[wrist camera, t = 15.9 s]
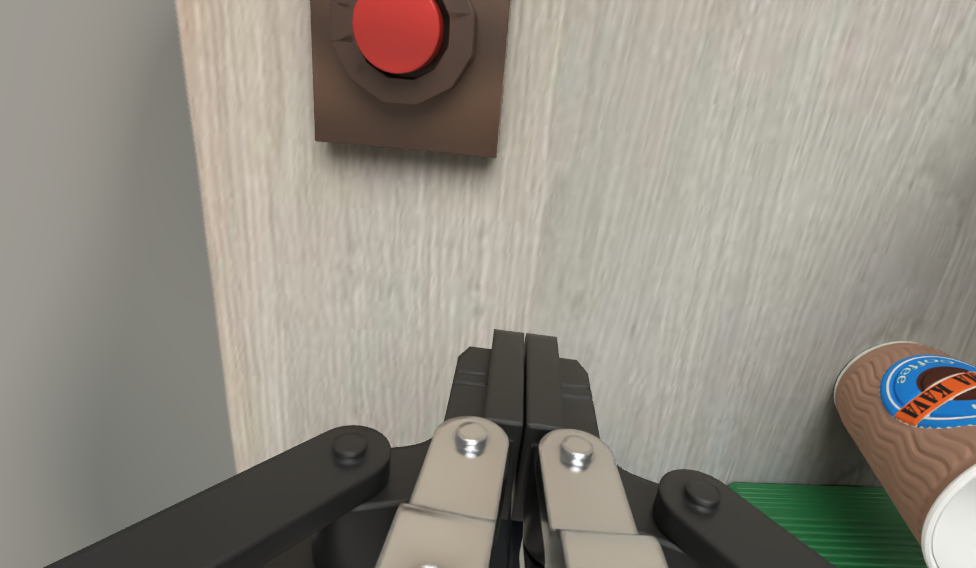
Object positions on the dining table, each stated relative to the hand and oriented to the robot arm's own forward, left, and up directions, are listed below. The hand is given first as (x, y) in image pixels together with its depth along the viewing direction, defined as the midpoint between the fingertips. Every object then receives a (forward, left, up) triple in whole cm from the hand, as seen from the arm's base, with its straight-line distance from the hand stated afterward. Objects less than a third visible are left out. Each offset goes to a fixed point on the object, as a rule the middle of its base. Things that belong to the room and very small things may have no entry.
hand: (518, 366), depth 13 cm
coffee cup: (+11, +26, -21) cm, 35 cm away
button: (-7, -6, -18) cm, 20 cm away
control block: (-7, -6, -21) cm, 23 cm away
